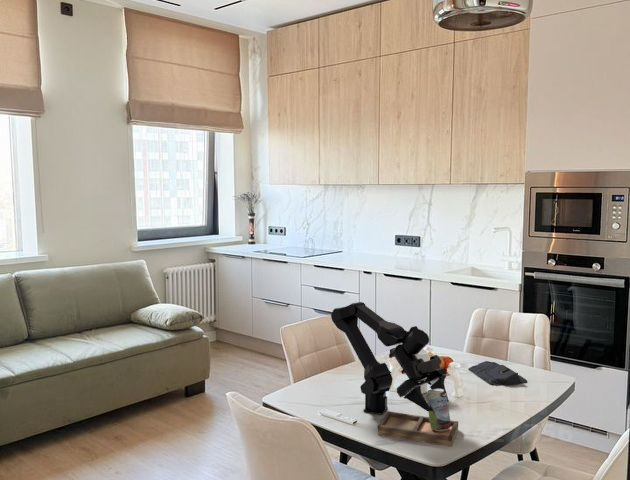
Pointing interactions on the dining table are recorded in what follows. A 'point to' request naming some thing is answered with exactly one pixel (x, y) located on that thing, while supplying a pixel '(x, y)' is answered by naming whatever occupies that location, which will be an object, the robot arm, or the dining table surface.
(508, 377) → the dark slate chunk
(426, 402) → the robot arm
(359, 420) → the dining table surface
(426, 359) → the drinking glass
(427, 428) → the divided wooden tray
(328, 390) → the dining table surface
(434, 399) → the beverage can
